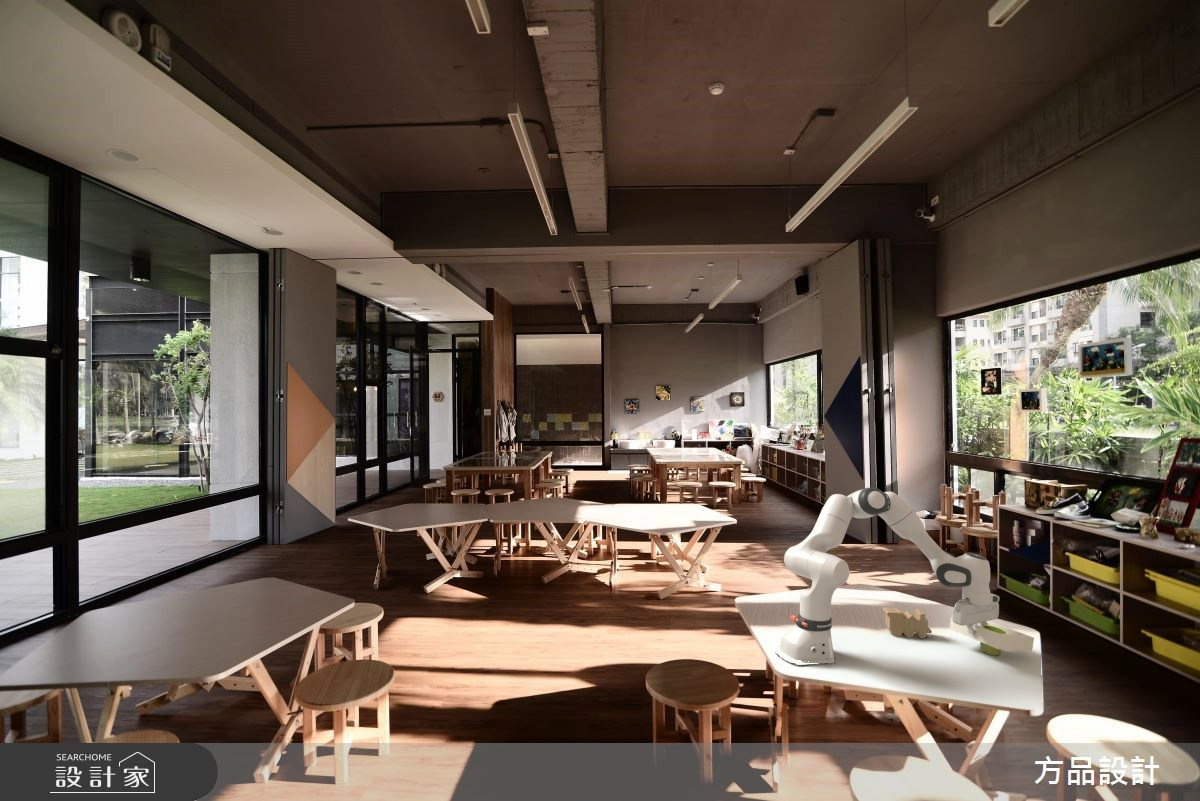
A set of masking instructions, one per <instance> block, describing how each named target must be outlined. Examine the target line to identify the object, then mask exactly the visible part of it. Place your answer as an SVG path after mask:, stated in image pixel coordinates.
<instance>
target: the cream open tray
mask: <svg viewBox="0 0 1200 801" xmlns="http://www.w3.org/2000/svg"><path fill="white" fill-rule="evenodd" d="M949 622H950V624H949V630H952V631H954V632H956V633H959V634H961V635H963V636H966V637H969V638H970V639H973V640H975V641H978V642H982V643H984V644H987V645H989V646H991V647H994V648H996V649H1001V650H1004V651H1005V650H1008V651H1023V652H1024V651H1025V652H1026V651H1027V652H1032V651H1033V648H1034V642H1035V641H1034V639H1035V637H1033V636H1030V635H1028V634H1025V633H1023V632H1020V631H1018V630H1015V629H1012V628H1010V627H1007V626H1005V625H1002V624H999V623H996V622H994V621H993V620H990V621H985V625H989V626H994V627H997V628H1000V629H1002V630H1004V631H1005V632H1006V634H1000V633H996V632H993V631H991V630H988V629H986V628H983V627H981V626H978V625H977V624H978V623H974V626H973V629H974V630H975V634H973V635H971V634H969V633H968V628H967V626H966V625H964V626H961V625H958V624H956V623H954V622H953V615H951V616H950V620H949Z"/></svg>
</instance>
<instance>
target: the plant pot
mask: <svg viewBox="0 0 1200 801" xmlns="http://www.w3.org/2000/svg"><path fill="white" fill-rule="evenodd" d="M983 628H986V629H988V630H991V631H993V632H996V633H1000V634H1006V632H1005V631H1004V630H1002V629H1000V628H997V627H994V626H989V625H984V627H983ZM979 642H980V641H979ZM979 645H980V650H981V652H982V653H983V652H984V653H985V654H987V655H989V656H1000V655H1001V652H1002V649H996V648H994V647H991V646H989V645H987V644H984V643H982V642H980V643H979Z"/></svg>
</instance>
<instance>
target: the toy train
mask: <svg viewBox="0 0 1200 801" xmlns="http://www.w3.org/2000/svg"><path fill="white" fill-rule="evenodd" d="M882 611H883V612H884V614H885V617H884V620H885V621H884V622H885V623H884V624H885V626H886V627H887V630H888V631H889V632H890V633H891V635H892V636H894V637H896V638H899V637H901V636H902V635H903V634H904V635H905V636H906V637H907V638H912V637H914V635H915V634H916V635H917V636H918V637H919V638H921V639H925V638H926V637H927V635H928V634H932V632H933V630H932V629H931V628H930V627H929V620H928V619H927V618H926V614H925V612H924V611H923V610H922V609H919V608H916V609H914V614H912V613H911V612H910V611H908V610H905V612H904V613H903V612H902V611H901V610H900V609H899V608H898V607H885V606H884V607H883V608H882Z"/></svg>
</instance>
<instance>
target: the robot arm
mask: <svg viewBox="0 0 1200 801" xmlns="http://www.w3.org/2000/svg"><path fill="white" fill-rule="evenodd" d="M875 516H879V517H880V518H881V519H882V520H884V522H885V523H886V524H887V525H888V527H889V528H890V529H891V530H892V531H893V532H894V534H896V535H898V536H899V537H900V538H902V539H904V540H907V541H910V542H912V543H913V544H914V545H916V547H917V548H918V549H919V550H920V551H921V552H922V553H923V554H924V555H925V557H926V558H927V559H928V561H929V564H930V567H931V570H932V572H933V573H934V574H935V577H936V579H937V580H938V582H939V583H941V585H943V586H945V587H950V588H962V589H961V599H958V600H957V602H956V603H955V604H954V606H953V611H952V616H953V622H954V623H956V624H958V625H961V626H964V625H966V626H967V628H968V633H969V634H971V635H973V634H975V630H974V629H973V626H974V623H978V624H977V625H978V626H981V627H984V625H985V621H993V620H994V621H995V620H997V619H998V618H999V614H1000V604H999V602H1000V596H999V595H997V594H994V593H992V592H991V589H990V582H991V567H990V561H989V560H988V559H987V558H986V557H984V556H983V555H981V554H978V553H975V552H965V553H964V554H962V555H959V556H954V555H953V554H951V553H949V552H947V551H945V550H943V549H942V548H941V546H939V545H938V543H936V541H935V540H933V538H932V537H931V536H930V535H929V534H928V532H927V530H926V528H925V525H924V523H923V521H922V520H921V518H920V517H919V515H918V514H917V513H916V511H915V510H914V509H913V508H912V507H911V506H910V505H909V504H908V502H906V501H905V500H904V499H903V498H902V497H901V496H899V495H898V494H897V493H895V492H894V491H883V490H881V489H879V488H876V487H865V488H862V489H859V490H856V491H854V492H852V493H850V494H848V495H845V494H840V493H835V494H834V493H833V494H832V495H830V496H829V497H828V499H827V500H826V502H825V503H824V506H822V508H821V511H820V513H819V516H818V518H817V520H816V522H815V524H814V527H813V529H812V531H810V533H809V535H808V536H806V538H805V539H804V540H802V541H801V542H799V543H798V544H796V545H794V546H790V547H789V548H788V549H787V550H786V551H785V553H784V555H783V561H784V566H785V568H786V569H787V570H788V571H790V572H791V573H792V574H795V575H797V576H800V577H802V578H803V577H804V578H806V579H809V580H811V587H807V588H806V589H804V590H802V592H801V593H800V594H799V595H800V596H799V613H798V615H797V616H795V615H793V614H792V615H791V616H790V621H792V622H794V625H793V626H792V627H791V628H790V629H789V630H788V631H787V632H785V633H784V634H783V635H782V636H781V640H780V645H779V646H777V647H780V651H781V652H782V653H784V654H785V655H786V656H788V657H789V658H791V659H792V658H793V659H795V660H801V661H802V662H803V663H828V664H834V663H835V660H834V658H835V657H836V653H835V650H834V646H833V641H832V640H833V638H832V627H833V623H832V622H833V621H832V620H833V618H832V616H831V613H832V612H831V611H832V610H831V609H832V599H833V595H834V593H835V591H836V590H837V589H838V588H839V587H841V586H843V585H845V584H846V582H847V581H848V579H849V577H850V568H849V564H848V563H847V562H846V560H844V559H842V558H840V557H838V556H836V555H834V554H831V553H827V552H828V551H829V550H831V549H834V548H837V547H839V546H840V545H842V543H843V540H844V538H845V535H846V532H847V530H848V529H849V525H850V522H851V521H852V520H864V519H869V518H872V517H875ZM808 661H809V662H808ZM833 662H834V663H833Z"/></svg>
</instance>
